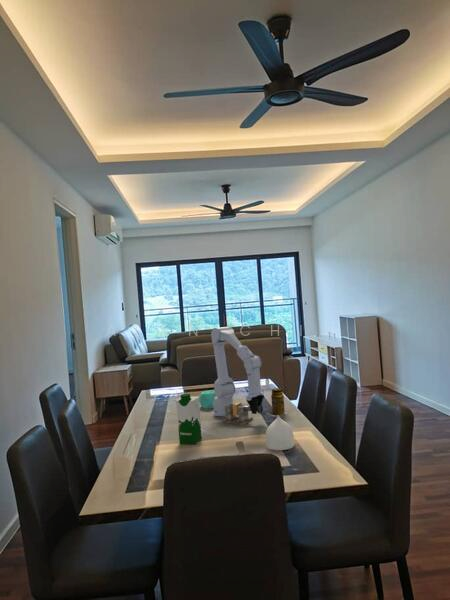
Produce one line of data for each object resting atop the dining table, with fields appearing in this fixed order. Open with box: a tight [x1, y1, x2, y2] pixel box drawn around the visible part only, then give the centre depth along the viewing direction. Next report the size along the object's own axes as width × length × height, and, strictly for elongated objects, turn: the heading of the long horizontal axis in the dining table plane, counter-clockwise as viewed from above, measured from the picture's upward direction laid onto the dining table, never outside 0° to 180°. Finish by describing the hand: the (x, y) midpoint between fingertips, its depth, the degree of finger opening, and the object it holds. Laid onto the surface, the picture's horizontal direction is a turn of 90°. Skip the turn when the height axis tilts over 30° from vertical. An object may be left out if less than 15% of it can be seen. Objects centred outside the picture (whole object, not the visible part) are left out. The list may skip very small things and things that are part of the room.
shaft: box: [231, 404, 264, 414], centre depth 203 cm, size 15×4×4 cm, turn 61°
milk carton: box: [175, 393, 203, 445], centre depth 181 cm, size 9×9×20 cm
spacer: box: [233, 401, 243, 416], centre depth 206 cm, size 2×5×5 cm, turn 151°
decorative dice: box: [199, 389, 217, 409], centre depth 238 cm, size 8×8×8 cm
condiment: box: [265, 387, 288, 418], centre depth 214 cm, size 7×8×12 cm
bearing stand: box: [222, 402, 254, 426], centre depth 206 cm, size 10×10×8 cm
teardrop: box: [265, 415, 295, 451], centre depth 170 cm, size 11×11×12 cm
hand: (256, 412), depth 201 cm, fingers closed on shaft, 4 cm apart
